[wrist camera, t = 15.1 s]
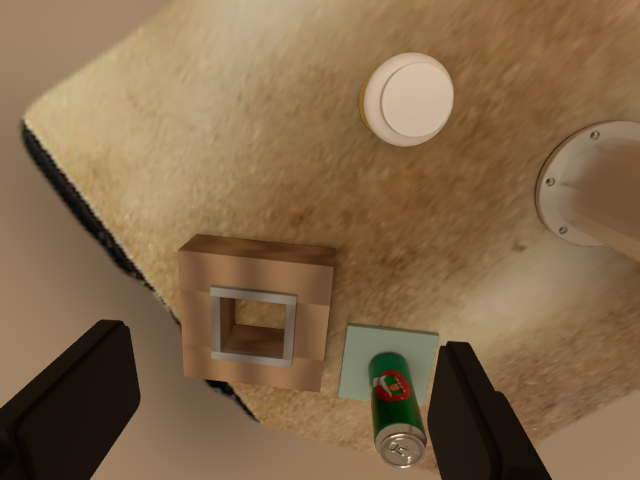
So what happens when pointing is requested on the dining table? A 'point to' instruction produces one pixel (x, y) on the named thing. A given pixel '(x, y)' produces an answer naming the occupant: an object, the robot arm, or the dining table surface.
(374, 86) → the supplement bottle
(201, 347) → the housing
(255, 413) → the dining table surface
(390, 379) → the soda can
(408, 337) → the mat
